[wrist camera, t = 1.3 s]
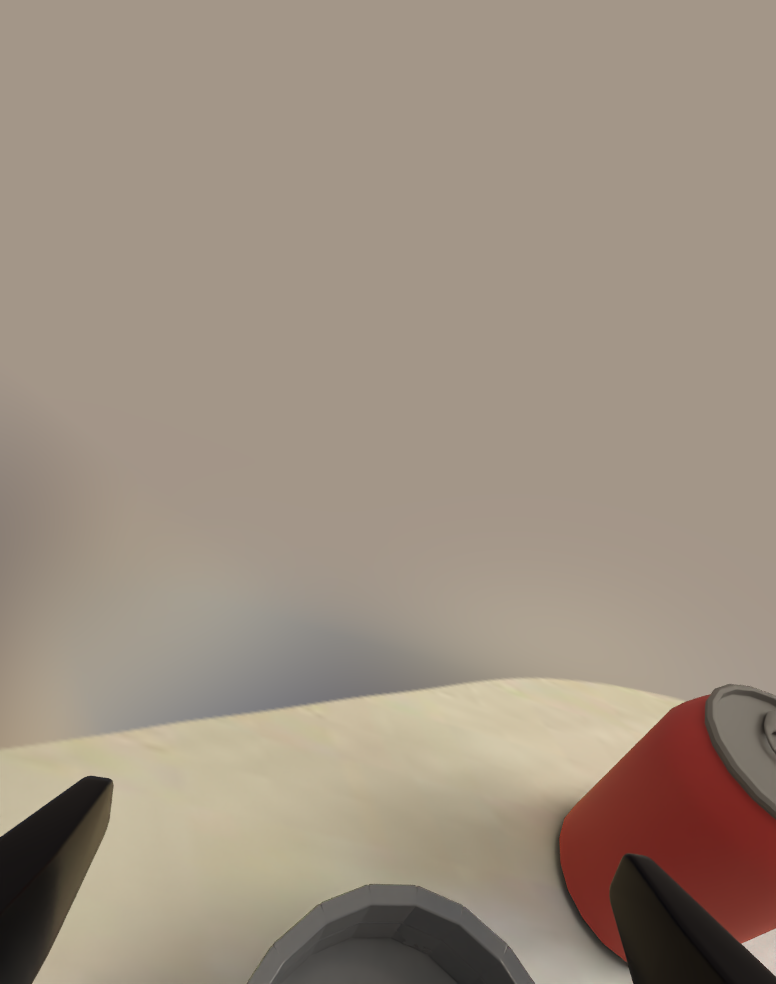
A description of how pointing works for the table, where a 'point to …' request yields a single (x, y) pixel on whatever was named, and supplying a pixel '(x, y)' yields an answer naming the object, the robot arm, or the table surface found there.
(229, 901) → the table surface
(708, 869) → the beer can
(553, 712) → the table surface
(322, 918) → the grey bowl
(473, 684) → the table surface
